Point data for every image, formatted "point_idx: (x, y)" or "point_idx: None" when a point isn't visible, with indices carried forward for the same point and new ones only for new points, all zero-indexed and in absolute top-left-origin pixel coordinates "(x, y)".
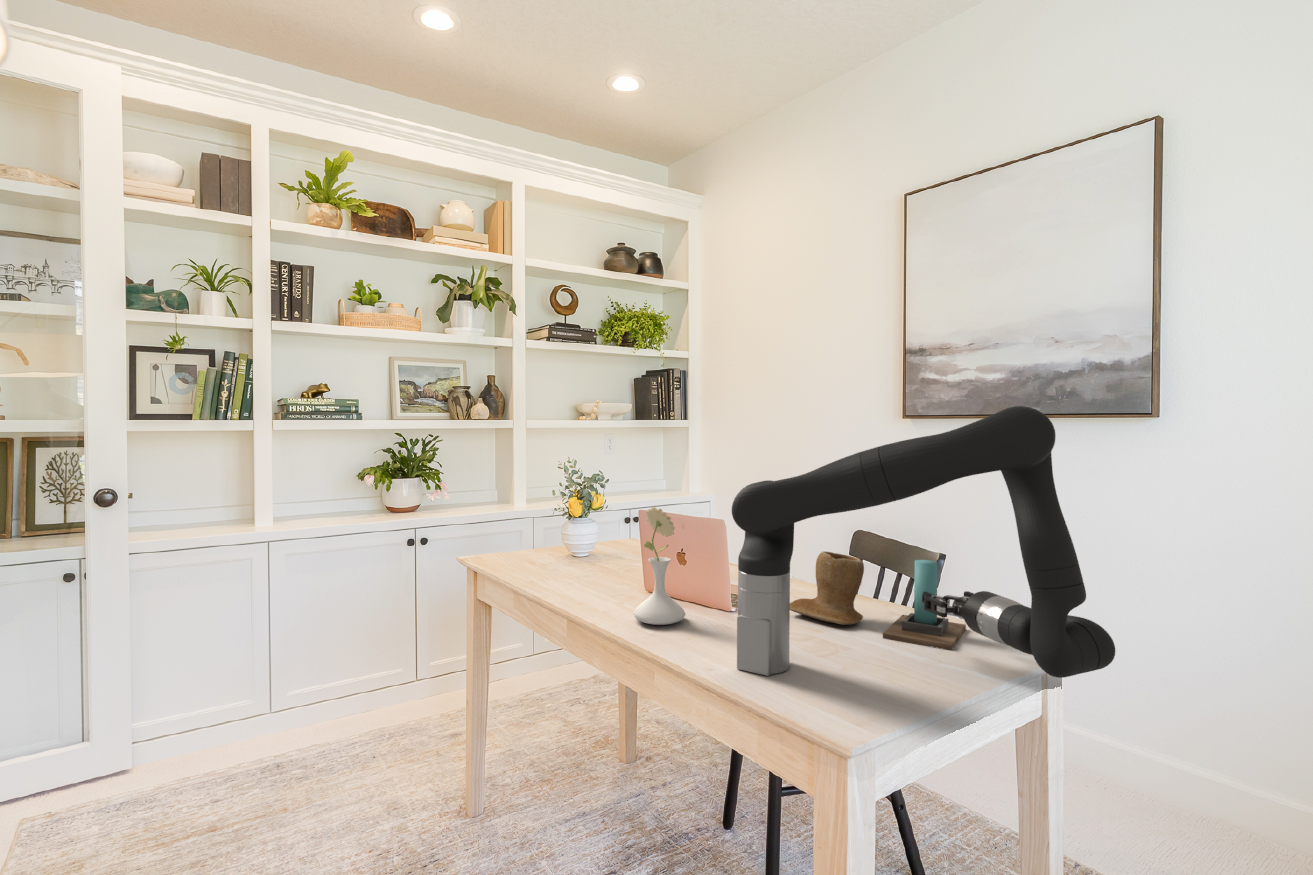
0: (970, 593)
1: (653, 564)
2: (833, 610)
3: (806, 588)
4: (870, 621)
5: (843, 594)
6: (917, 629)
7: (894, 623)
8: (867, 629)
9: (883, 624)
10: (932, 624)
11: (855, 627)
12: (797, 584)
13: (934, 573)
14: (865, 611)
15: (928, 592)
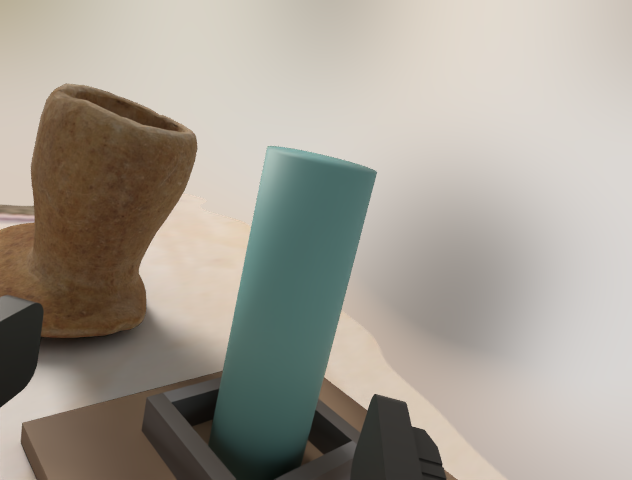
0: (381, 446)
1: None
2: (31, 274)
3: (231, 230)
4: (172, 343)
5: (58, 229)
6: (175, 461)
7: (189, 382)
8: (81, 373)
9: (186, 368)
10: (258, 461)
11: (65, 351)
12: (233, 221)
13: (325, 222)
14: (234, 308)
15: (7, 312)
